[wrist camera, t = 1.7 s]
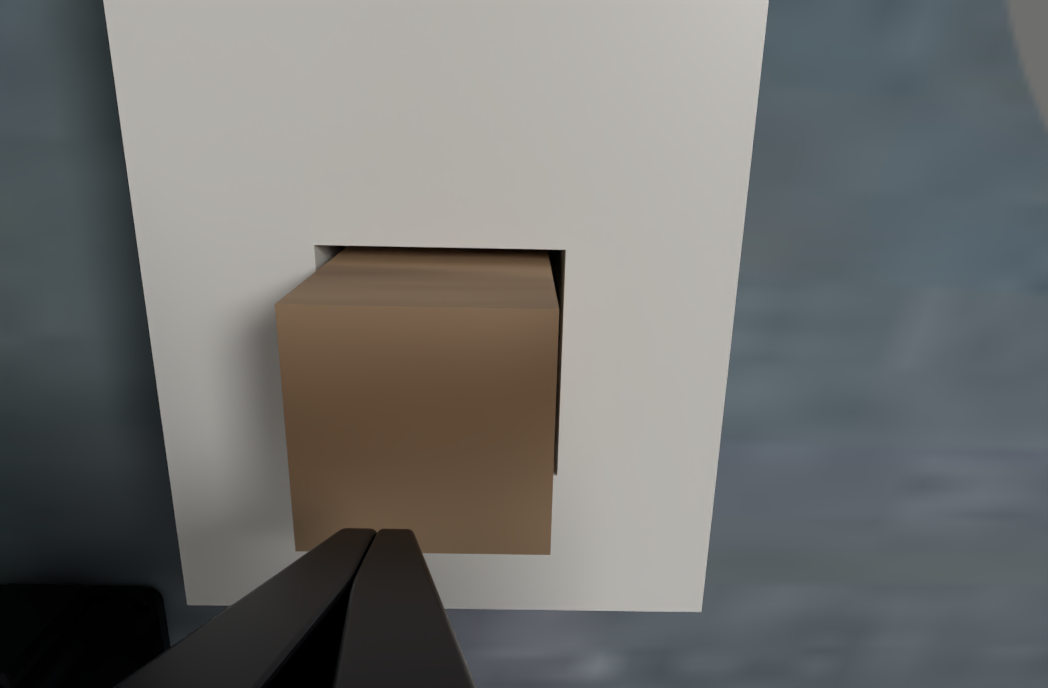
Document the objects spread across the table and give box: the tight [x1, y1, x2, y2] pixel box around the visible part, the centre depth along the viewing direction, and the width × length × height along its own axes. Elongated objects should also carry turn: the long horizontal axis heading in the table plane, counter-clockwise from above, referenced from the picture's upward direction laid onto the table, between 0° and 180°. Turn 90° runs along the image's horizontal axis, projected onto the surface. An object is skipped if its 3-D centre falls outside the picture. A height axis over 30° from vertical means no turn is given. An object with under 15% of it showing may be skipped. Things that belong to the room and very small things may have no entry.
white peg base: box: [103, 0, 769, 612], centre depth 16 cm, size 24×12×6 cm, turn 179°
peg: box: [275, 246, 559, 555], centre depth 15 cm, size 4×4×5 cm
